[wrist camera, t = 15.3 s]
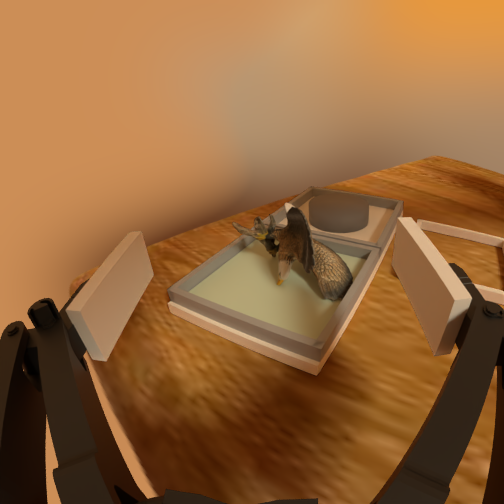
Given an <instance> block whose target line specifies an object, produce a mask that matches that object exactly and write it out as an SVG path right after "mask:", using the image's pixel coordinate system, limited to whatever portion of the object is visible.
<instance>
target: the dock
mask: <svg viewBox="0 0 504 504" xmlns="http://www.w3.org/2000/svg"><path fill="white" fill-rule="evenodd" d="M288 203H289V204H292V205H293V206H294V207H295V208H298V209H300V210H301V211H302V212H303V213H304V215H305V217H306V219H307V221H308V224H309V227H310V229H311V232H312V238H313V239H315V240H317V241H319V242H321V243H323V244H324V245H326V246H328V247H329V248H331V249H332V250H333V251H334V252H336V254H338V255H339V256H340V257H341V258H342V260H343V261H344V262H345V263H346V264H347V266H348V267H349V269H350V272H351V273H352V276H353V279H352V281H353V284H352V285H351V284H350V285H351V287H350V288H349V290H348V292H347V293H346V295H345V297H344V298H343V300H339V299H337V300H335V301H334V300H332V299H330V298H329V299H325V298H324V296H323V294H322V293H321V290H320V287H319V285H318V281H317V278H316V276H315V275H314V273H313V272H312V270H311V273H310V274H308V273H306V272H305V270H304V268H303V264H302V263H300V262H299V261H298V260H295V261H294V262H293V264H292V266H291V270H290V274H289V276H288V278H287V279H286V280H284V281H283V282H282V284H281V285H279V286H278V285H277V282H278V279H279V276H278V272H279V262H278V261H279V259H278V252H277V254H276V257H272V255H270V254H269V252H267V251H266V248H265V246H264V245H263V244H262V243H260V241H259V240H256V239H255V238H253V237H251V236H247V235H244V234H243V235H241V236H240V237H239V238H237V239H236V240H234V241H233V242H232V243H230V244H229V245H227V246H226V247H225V248H223V249H222V250H220V251H219V252H218V253H216V254H215V255H214V256H212V257H211V258H209V259H208V260H207V261H205V262H204V263H202V264H201V265H200V266H198V267H197V268H196V269H194V270H193V271H191V272H190V273H189V274H187V275H186V276H185V277H183V278H182V279H180V280H179V281H178V282H176V283H175V284H174V285H172V286H171V287H170V288H168V289H167V291H168V294H169V297H170V302H169V303H168V306H169V309H170V312H171V313H172V314H174V315H176V316H178V317H180V318H183V319H185V320H187V321H189V322H191V323H193V324H195V325H197V326H199V327H201V328H204V329H206V330H208V331H210V332H212V333H214V334H217V335H219V336H221V337H223V338H225V339H228V340H230V341H232V342H234V343H237V344H239V345H241V346H244V347H246V348H248V349H251V350H253V351H255V352H258V353H260V354H262V355H265V356H267V357H270V358H272V359H275V360H277V361H280V362H282V363H285V364H287V365H290V366H292V367H295V368H297V369H300V370H302V371H305V372H308V373H310V374H313V375H316V376H317V375H318V373H319V372H320V370H321V369H322V367H323V365H324V364H325V362H326V361H327V359H328V357H329V356H330V354H331V352H332V351H333V349H334V348H335V346H336V344H337V343H338V341H339V339H340V337H341V336H342V334H343V332H344V331H345V329H346V327H347V325H348V324H349V322H350V320H351V318H352V317H353V315H354V313H355V311H356V309H357V308H358V306H359V304H360V302H361V300H362V298H363V296H364V295H365V293H366V291H367V289H368V287H369V285H370V283H371V281H372V279H373V277H374V275H375V273H376V271H377V269H378V267H379V265H380V263H381V261H382V259H383V257H384V255H385V253H386V251H387V249H388V247H389V245H390V243H391V240H392V238H393V236H394V234H395V232H396V226H397V218H399V217H402V216H403V203H404V201H401V200H396V199H390V198H384V197H378V196H372V195H366V194H360V193H353V192H347V191H340V190H333V189H326V188H318V187H309V188H308V189H307V190H305V191H304V192H302V193H301V194H299V195H298V196H297V197H295V198H294V199H292V200H291V201H289V202H288ZM271 215H273V216H274V219H275V221H276V222H277V224H276V226H275V230H276V229H283V228H284V227H286V226H287V221H288V220H287V217H286V211H285V207H284V206H282V207H281V208H279V209H278V210H277V211H275V212H274V213H272V214H271ZM262 222H263V223H264V225H265V229H266V231H267V229H268V227H269V224H270V216H268V217H267V218H265V219H264V220H262ZM250 230H255V228H254V227H253V228H251V229H250ZM274 244H276V245H278V244H279V241H277V240H275V242H274Z"/></svg>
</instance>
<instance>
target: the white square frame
mask: <svg viewBox="0 0 504 504" xmlns="http://www.w3.org/2000/svg"><path fill="white" fill-rule="evenodd" d="M416 224H417V225H418V226H419V227H420V229H423V230H427V231H432V232H437V233H441V234H446V235H450V236H454V237H459V238H463V239H467V240H472V241H476V242H480V243H484V244H488V245H492V246H496V247H500V248H502V250H503V254H504V238H501V237H497V236H493V235H489V234H484V233H480V232H476V231H472V230H468V229H463V228H459V227H454V226H450V225H445V224H441V223H436V222H431V221H426V220H422V219H418V220H417V223H416ZM473 284H474V283H473ZM474 285H475V286H476V288H477V289H478V291H479V292H480V293H481V295H482V296H483V298H484V299H485V300H486V301H491V302H494V303H498V304H502V305H504V291H502V290H498V289H494V288H490V287H486V286H482V285H478V284H474Z"/></svg>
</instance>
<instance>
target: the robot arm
mask: <svg viewBox="0 0 504 504" xmlns="http://www.w3.org/2000/svg"><path fill="white" fill-rule="evenodd" d="M392 267H393V268H394V270H395V272H396V274H397V276H398V278H399V280H400V282H401V284H402V286H403V288H404V290H405V292H406V294H407V296H408V299H409V301H410V303H411V305H412V307H413V309H414V311H415V313H416V316H417V318H418V320H419V322H420V324H421V327H422V329H423V331H424V333H425V336H426V338H427V340H428V343H429V345H430V347H431V350H432V352H433V355H434V356H439V355H445V354H450V353H451V351H452V349H453V347H454V344H455V343H456V345H457V347H458V349H459V351H458V353H457V355H456V357H455V359H454V361H453V364H452V366H451V368H450V371H449V374H448V376H447V378H446V380H445V382H444V385H443V387H442V389H441V391H440V393H439V395H438V397H437V399H436V401H435V403H434V405H433V407H432V409H431V411H430V413H429V414H428V416H427V418H426V420H425V422H424V424H423V425H422V427H421V429H420V431H419V432H418V434H417V436H416V438H415V439H414V441H413V443H412V444H411V446H410V448H409V449H408V451H407V452H406V454H405V455H404V457H403V459H402V460H401V462H400V463H399V465H398V466H397V468H396V469H395V471H394V472H393V474H392V475H391V476H390V478H389V479H388V481H387V482H386V484H385V485H384V486H383V488H382V489H381V490H380V492H379V493H378V494H377V496H376V497H375V498H374V499H373V501H372V502H371V503H370V504H444V503H445V501H446V499H447V497H448V495H449V492H450V488H449V484H450V482H451V479H452V477H453V476H454V474H455V472H456V470H457V467H458V465H459V463H460V461H461V459H462V457H463V455H464V453H465V450H466V448H467V446H468V443H469V441H470V439H471V436H472V434H473V431H474V429H475V426H476V424H477V421H478V419H479V416H480V413H481V410H482V407H483V405H484V402H485V399H486V396H487V392H488V389H489V386H490V383H491V379H492V376H493V372H494V369H495V366H497V401H496V418H495V430H494V440H493V448H492V455H491V462H490V468H489V474H488V479H487V484H486V489H485V494H484V498H483V502H482V504H504V310H503V308H502V307H501V306H499V305H498V304H496V303H494V302H491V301H485V299H484V298H483V296H482V295H481V293H480V292H479V291H478V289H477V288H476V286H475V285H474V284H473V283H472V281H471V280H470V278H468V276H467V274H466V273H465V272H464V270H463V269H462V268H460V267H459V266H457V265H456V264H455V263H447V262H446V260H445V259H444V258H443V256H442V255H441V254H440V253H439V251H438V250H437V249H436V247H435V246H434V245H433V244H432V242H431V241H430V240H429V239H428V237H427V236H426V235H425V234H424V232H423V231H422V230H421V229H420V227H419V226H418V225H417V224H416V223H415V221H414V220H413V219H412V218H411V217H399V218H397V226H396V235H395V244H394V251H393V259H392ZM153 276H154V273H153V270H152V266H151V263H150V259H149V256H148V252H147V249H146V245H145V242H144V238H143V234H142V231H136V232H129V233H128V234H127V235H126V236H125V238H124V239H123V240H122V241H121V242H120V243H119V245H118V246H117V247H116V248H115V249H114V250H113V252H112V253H111V254H110V255H109V256H108V257H107V259H106V260H105V261H104V262H103V263H102V264H101V266H100V267H99V268H98V269H97V271H96V272H95V273H94V274H93V275H92V277H91V278H90V279H88V280H86V281H85V282H84V283H82V284H81V285H80V286H79V288H78V289H77V290H76V291H75V293H74V294H73V295H72V296H71V298H70V299H69V300H68V302H67V303H66V304H65V305H64V307H63V308H62V309H61V311H60V312H58V310H57V308H56V306H55V304H54V302H53V300H52V299H50V298H44V299H41V300H39V301H37V302H35V303H34V304H33V305H32V306H31V307H30V308H29V310H28V316H29V318H30V319H31V321H32V323H33V325H34V326H35V328H34V329H28V330H27V328H26V327H25V325H24V323H23V322H21V321H16V322H13V323H11V324H10V325H8V326H7V327H6V329H5V330H4V331H3V333H2V336H1V339H0V504H48V502H47V489H46V469H45V468H46V464H45V439H46V414H47V419H48V424H49V428H50V433H51V437H52V441H53V445H54V449H55V453H56V457H57V461H58V468H56V469H53V477H54V482H55V485H56V488H57V491H58V494H59V498H60V501H61V504H226V503H223V502H220V501H217V500H214V499H211V498H209V497H206V496H203V495H200V494H193V493H186V492H180V491H174V490H169V489H166V490H165V495H164V496H160V497H153V498H149V499H147V498H146V496H145V495H144V494H143V492H142V491H141V490H140V489H139V487H138V486H137V484H136V483H135V481H134V479H133V477H132V475H131V473H130V471H129V469H128V467H127V465H126V463H125V461H124V459H123V457H122V454H121V452H120V450H119V448H118V445H117V443H116V441H115V438H114V436H113V434H112V431H111V429H110V427H109V424H108V422H107V419H106V417H105V414H104V411H103V409H102V406H101V403H100V401H99V398H98V395H97V393H96V390H95V387H94V384H93V381H92V378H91V375H90V372H89V368H88V365H87V362H86V360H85V359H84V357H83V355H84V354H85V352H86V350H87V351H88V353H89V355H90V356H91V358H92V360H99V361H107V359H108V357H109V355H110V353H111V351H112V350H113V348H114V346H115V344H116V342H117V340H118V338H119V336H120V334H121V333H122V331H123V329H124V327H125V325H126V323H127V322H128V320H129V318H130V316H131V314H132V312H133V311H134V309H135V307H136V305H137V303H138V302H139V300H140V298H141V296H142V295H143V293H144V291H145V289H146V288H147V286H148V284H149V282H150V281H151V279H152V277H153ZM23 369H24V371H23ZM260 504H318V498H317V499H295V500H275V501H271V502H265V503H260Z"/></svg>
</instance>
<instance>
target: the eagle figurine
mask: <svg viewBox="0 0 504 504" xmlns="http://www.w3.org/2000/svg"><path fill="white" fill-rule="evenodd" d="M284 207H285V211H286V217H287V220H288V221H287V226H286V227H284V228H283V229H276V230H275V226H276V224H277V222H276V221H275V219H274V216H273V215H271V214H269V216H270V224H269V227H268V229H267V231H266V229H265V225H264V223H263V222H262V220H261V218H260V217H259V216H258V217H256V218H255V220H254V228H255V230H250V229H248V228H245V227H242V226H241V225H240V224H238V223H236V222H233V223H232V225H233V226H234V227H235V228H236V230H237V231H238V232H240V233H241V234H244V235H247V236H251V237H253V238H255V239H256V240H259V241H260V243H262V244H263V245H264V246H265V248H266V251H267V252H269V254H270V255H272V257H276V254H277V252H278V259H279V261H278V262H279V272H278V276H279V279H278V282H277V285H278V286H279V285H281V284H282V282H283V281H284V280H286V279H287V278H288V276H289V274H290V270H291V266H292V264H293V262H294V261H295V260H298V261H299V262H300V263H302V264H303V268H304V270H305V272H306V273H308V274H310V273H311V270H312V272H313V273H314V275H315V276H316V278H317V281H318V285H319V287H320V290H321V293H322V294H323V296H324V298H325V299H329V298H330V299H332V300H334V301H335V300H337V299H339V300H343V298H344V297H345V295H346V293H347V292H348V290H349V288H350V287H351V285H352V284H353V281H352V279H353V276H352V273H351V272H350V269H349V267H348V266H347V264H346V263H345V262H344V261H343V260H342V258H341V257H340V256H339V255H338V254H336V252H334V251H333V250H332V249H331V248H329V247H328V246H326V245H324V244H323V243H321V242H319V241H317V240H315V239H313V238H312V232H311V229H310V227H309V224H308V221H307V219H306V217H305V215H304V213H303V212H302V211H301V210H300V209H298V208H295V207H294V206H293V205H292V204H289V203H285V204H284ZM275 240H277V241H279V244H278V245H276V244H274V242H275ZM350 284H351V285H350Z"/></svg>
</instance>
